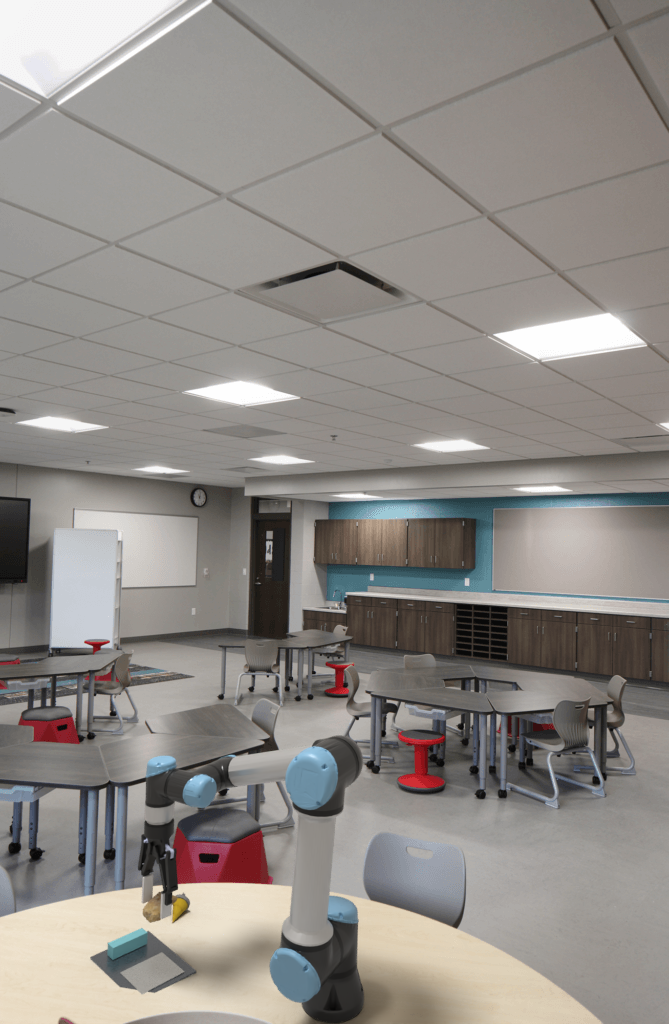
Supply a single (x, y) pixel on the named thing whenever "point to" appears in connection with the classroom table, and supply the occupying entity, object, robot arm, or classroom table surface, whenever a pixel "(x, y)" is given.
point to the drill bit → (180, 906)
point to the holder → (145, 967)
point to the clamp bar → (127, 943)
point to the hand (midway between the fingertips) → (156, 908)
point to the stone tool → (155, 908)
